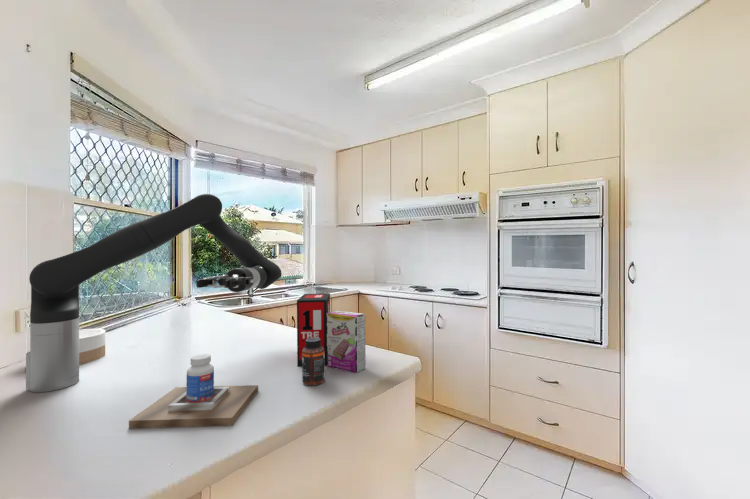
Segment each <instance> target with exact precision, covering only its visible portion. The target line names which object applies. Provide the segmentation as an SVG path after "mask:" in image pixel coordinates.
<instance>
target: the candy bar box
mask: <svg viewBox="0 0 750 499" xmlns="http://www.w3.org/2000/svg"><path fill="white" fill-rule="evenodd" d="M326 367H327V368H332V369H337V370H340V371H345V372H349V373H355V374H359V373H360V372H362V371H364V370H365V369H366V314H365V313H361V312H351V311H345V310H336V309H335V310H333V311H330V312H328V313H327V366H326Z"/></svg>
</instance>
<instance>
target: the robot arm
mask: <svg viewBox="0 0 750 499" xmlns="http://www.w3.org/2000/svg"><path fill="white" fill-rule="evenodd" d="M222 211H223V203H222V201H221V200H220V198H218V196H216V195H215V194H211V193H201V194H198V195H197V196H194V197H193V198H191V199H190V200H188V201H186V202H184V203H182V204H180V205H179V206H176V207H175V208H172V209H170V210H169V209H168V210H167V211H163V212H161V213H157V214H155V215H152V216H150V217H149V216H148V217H147V218H144V219H142V220H138V221H137V222H135V223H132V224H130V225H127V226H125V227H123V228H120V229H118V230H116V231H114V232H113V233H110V234H108V235H107V236H105V237H103V238H102V239H99V240H98V241H96V242H95V243H93V244H91V245H88V246H86V247H84V248H82V249H80V250H77V251H74V252H71V253H69V254H66V255H63V256H59V257H57V258H56V257H55V258H52V259H49V260H48V259H47V260H44V261H43V262H40V263H38V264H37V265H35V266H34V268H32V270H31V271H30V274H29V278H28V280H29V283H30V313H29V317H30V318H29V322H30V323H29V324H30V325H29V336H30V337H29V338H30V340H29V343H30V344H29V351H27V352H26V353H25V391H30V392H32V393H45V392H51V391H52V392H53V391H56V390H60V389H64V388H67V387H70V386H73V385H75V384H77V383H78V382H79V381H80V365H79V330H80V284H83V283H84V282H86V281H87V280H89V279H91V278H93V277H94V276H96V275H98V274H99V273H102V272H104V271H105V270H108V269H110V268H112V267H116V266H118V265H121V264H125V263H127V262H129V261H131V260H134V259H136V258H139V257H140V256H143V255H145V254H147V253H150V252H152V251H154V250H155V249H158V248H159V247H161V246H163V245H165V244H167V243H168V242H169V241H171V240H173V239H175V237H177V236H178V235H180V234H181V233H184V231H186V230H188V229H190V228H194V227H195V226H197V225H199V226H200V227H202V228H203V229H205V230H206V231H208V232H209V233H210V234H211V235H212V236H214V238H216V239H217V240H218V241H219V242H220V243H221V244H223V246H224V247H225V248H226V249H227V250H228V251H229V252H230V253H231V254H232V255H233V256H234V257H235V258H236V259H237V260H238V261H239V262H240V263H241V264H242V265H243V266H244V267H237V268H236V267H235V268H232V269H230V270H229V271H228V272H227V273H226V274H221V275H214V276H213V275H212V276H209V277H201V278H199V279H197V280H196V281H195V283H196V286H195V287H196V288H199V289H200V288H208V287H209V288H211V287H212V288H214V289H217V288H218V289H221V288H223V289H228V290H229V291H230V292H233V293H241V292H246V291H250V290H253V289H256V288H257V289H260V290H263V289H267V288H268V287H269V286H271V285H272V284H274V283H275V282H277V281H278V280H280V278H281V277H282V273H283V272H282V269H281V268H280V266H278V265H277V264H276V263H275V262H273V261H272V260H270V259H268V258H267V257H265V256H264V255H262V254H261V253H260V252H259V251H258V250H257V249H256V248H255V247H254V246H253V244H252V243H250V241H249V240H248V239H246V238H245V237H244V236H243V235H241V234H240V233H239V232H237V231H235V230H234V229H233V228H231V226H229V225H228V224H227V223H226V221H224V219H223V218H222V217H221V213H222ZM217 283H218V284H217Z"/></svg>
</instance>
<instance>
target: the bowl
mask: <svg viewBox="0 0 750 499" xmlns="http://www.w3.org/2000/svg"><path fill="white" fill-rule="evenodd" d="M105 356H106V329H102V328H85V329H84V328H83V329H79V366H80V365H83V364H88V363H91V362H93V361H94V362H95V361H97V360H99V359H101V358H103V357H105Z"/></svg>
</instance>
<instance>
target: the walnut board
mask: <svg viewBox="0 0 750 499" xmlns="http://www.w3.org/2000/svg"><path fill="white" fill-rule="evenodd" d="M186 389H187V386H175V387H174V388H172V389H171V390H170V391H168V392H167V393H166V394H164V395H163V396H162V397H160V398H158V399H157V400H156V401H154V402H153V403H152V404H150V405H149V406H148V407H146V408H145V409H143V410H142V411H140V412H139V413H138V414H136V415H135V416H134V417H132V418H131V419H129V420H128V429H153V428H154V429H155V428H160V429H161V428H181V427H182V428H183V427H184V428H186V427H187V428H189V427H191V428H192V427H219V426H224V427H225V426H233V425H234V424H235V422H236V421H237V419H238V418H239V417H240V416H241V414H242V413H243V412H244V411H245V409H246V408H247V406H248V405H249V403H251V401H252V400H253V399H254V397H255V396H256V394H257V393H258V392H259V385H258V384H257V385H256V384H254V385H253V384H252V385H251V384H250V385H248V384H247V385H214V397H213V399H212V400H211V401H209V402H200V403H187V402H186Z"/></svg>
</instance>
